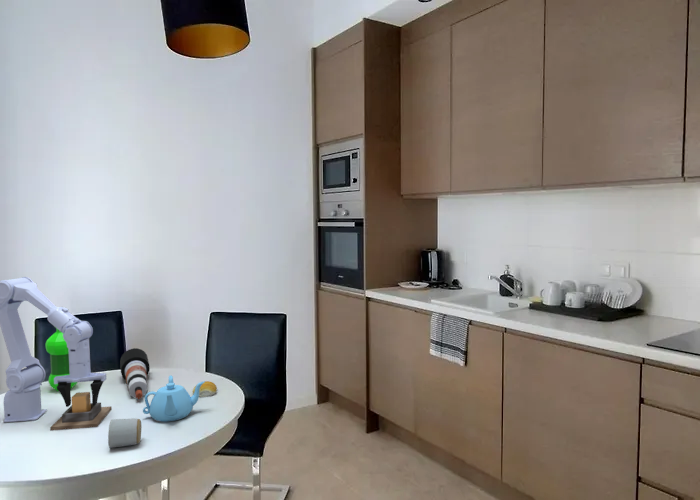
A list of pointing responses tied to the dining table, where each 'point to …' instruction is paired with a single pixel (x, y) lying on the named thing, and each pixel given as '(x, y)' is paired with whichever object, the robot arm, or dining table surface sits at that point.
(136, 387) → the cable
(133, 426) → the ceramic mug
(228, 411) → the dining table surface
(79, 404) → the orange rectangular block
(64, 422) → the holder
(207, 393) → the bread roll
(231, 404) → the dining table surface
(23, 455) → the dining table surface
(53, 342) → the plastic bottle
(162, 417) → the teapot
